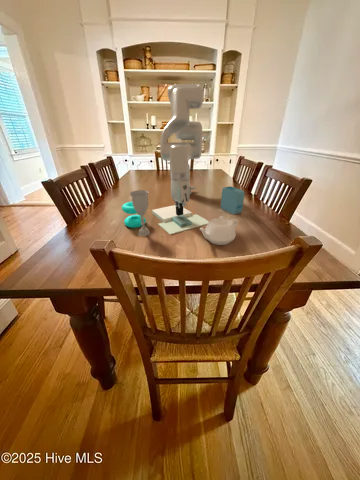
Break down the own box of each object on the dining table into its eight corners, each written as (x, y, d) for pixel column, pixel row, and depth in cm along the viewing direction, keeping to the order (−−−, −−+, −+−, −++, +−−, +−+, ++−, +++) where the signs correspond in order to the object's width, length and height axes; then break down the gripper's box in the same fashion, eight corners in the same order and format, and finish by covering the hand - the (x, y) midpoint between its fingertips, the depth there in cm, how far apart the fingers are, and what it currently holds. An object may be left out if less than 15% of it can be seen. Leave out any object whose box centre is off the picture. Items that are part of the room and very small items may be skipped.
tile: (182, 217, 99) (182, 215, 99) (191, 224, 93) (191, 221, 92) (171, 220, 97) (171, 217, 96) (180, 227, 90) (180, 224, 89)
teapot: (209, 254, 72) (211, 229, 67) (189, 240, 81) (189, 217, 76) (247, 239, 81) (251, 216, 76) (225, 227, 90) (227, 206, 85)
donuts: (120, 208, 85) (122, 201, 93) (124, 229, 90) (125, 220, 98) (144, 207, 86) (143, 199, 95) (146, 227, 91) (145, 219, 100)
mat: (196, 214, 104) (196, 214, 103) (210, 223, 95) (210, 222, 94) (158, 224, 94) (157, 223, 94) (169, 234, 85) (169, 233, 85)
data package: (241, 213, 105) (245, 191, 99) (235, 215, 103) (238, 192, 97) (226, 206, 114) (228, 185, 108) (220, 208, 112) (222, 186, 106)
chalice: (138, 238, 82) (132, 196, 73) (133, 232, 88) (127, 191, 79) (154, 234, 85) (151, 193, 76) (149, 228, 91) (145, 189, 82)
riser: (178, 207, 113) (178, 204, 112) (191, 216, 102) (191, 212, 101) (152, 213, 106) (151, 209, 105) (163, 223, 95) (163, 219, 94)
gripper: (195, 178, 83) (194, 218, 93) (178, 171, 94) (178, 208, 104) (180, 180, 80) (180, 222, 89) (163, 173, 91) (165, 211, 101)
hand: (179, 214), depth 97 cm, fingers closed
